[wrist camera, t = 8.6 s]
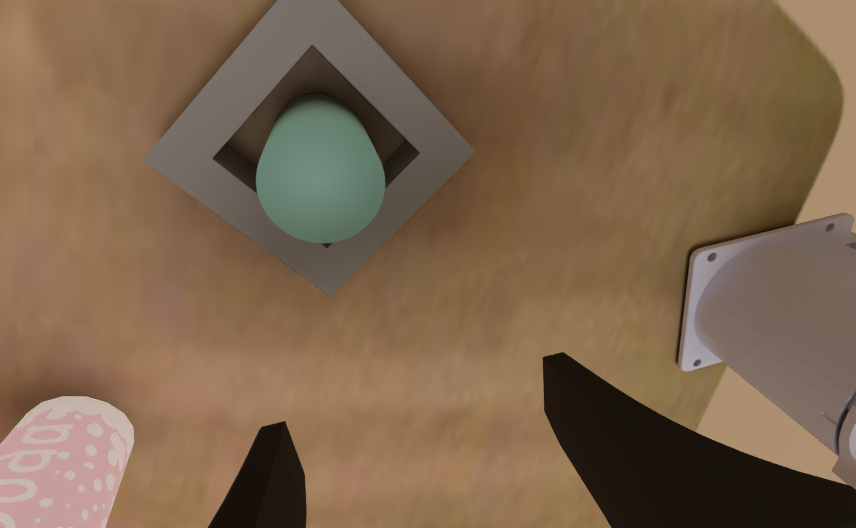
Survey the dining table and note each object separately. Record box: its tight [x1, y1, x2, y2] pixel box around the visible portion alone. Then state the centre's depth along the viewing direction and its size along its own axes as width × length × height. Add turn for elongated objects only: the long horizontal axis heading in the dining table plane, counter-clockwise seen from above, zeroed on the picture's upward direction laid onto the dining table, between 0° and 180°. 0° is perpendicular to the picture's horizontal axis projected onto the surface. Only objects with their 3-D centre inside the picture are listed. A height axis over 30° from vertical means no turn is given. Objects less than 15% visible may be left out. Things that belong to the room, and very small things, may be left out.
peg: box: [256, 93, 385, 243], centre depth 17 cm, size 4×4×6 cm
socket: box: [143, 0, 476, 297], centre depth 18 cm, size 8×8×2 cm
